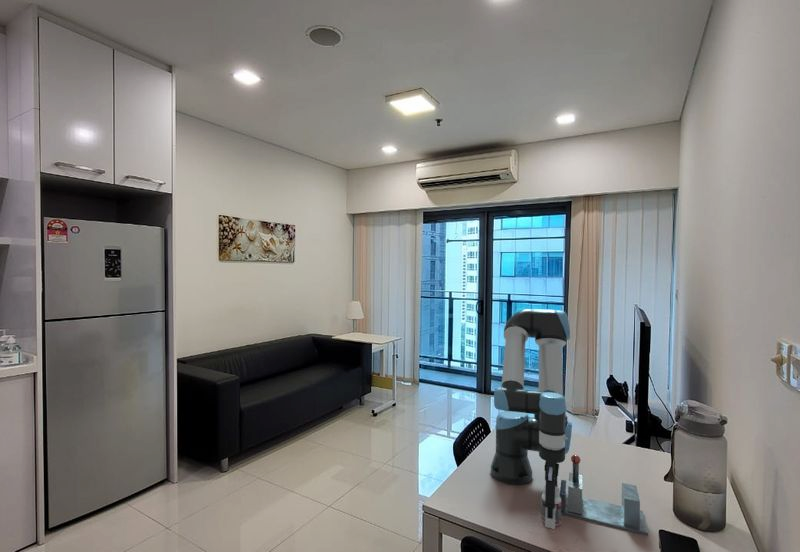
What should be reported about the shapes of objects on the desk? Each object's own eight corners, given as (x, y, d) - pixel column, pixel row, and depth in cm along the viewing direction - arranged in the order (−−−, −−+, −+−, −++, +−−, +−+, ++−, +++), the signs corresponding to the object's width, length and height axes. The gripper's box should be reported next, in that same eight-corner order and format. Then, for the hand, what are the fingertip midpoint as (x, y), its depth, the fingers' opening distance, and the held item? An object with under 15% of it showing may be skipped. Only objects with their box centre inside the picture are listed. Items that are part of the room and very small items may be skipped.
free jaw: (567, 511, 126) (568, 460, 126) (569, 495, 135) (569, 448, 135) (581, 514, 125) (582, 462, 125) (582, 498, 134) (582, 450, 134)
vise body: (559, 513, 127) (559, 485, 127) (561, 495, 137) (561, 469, 137) (648, 535, 116) (648, 505, 116) (642, 513, 127) (643, 485, 127)
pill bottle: (562, 527, 119) (563, 494, 119) (542, 525, 121) (543, 492, 121) (559, 516, 125) (559, 484, 125) (540, 514, 126) (540, 482, 126)
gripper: (563, 461, 112) (562, 543, 112) (566, 436, 130) (566, 506, 130) (535, 455, 115) (534, 535, 115) (542, 432, 133) (541, 501, 133)
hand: (551, 520), depth 123 cm, fingers open, 7 cm apart
